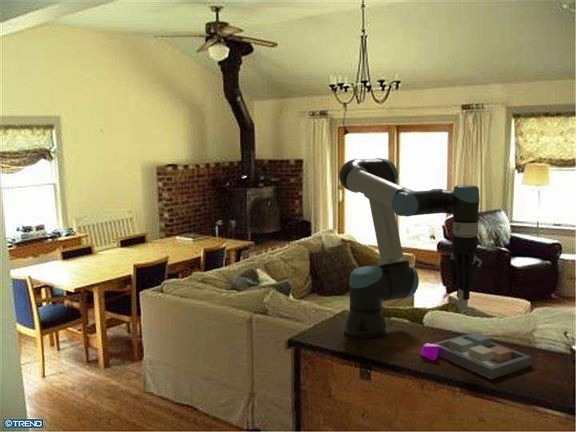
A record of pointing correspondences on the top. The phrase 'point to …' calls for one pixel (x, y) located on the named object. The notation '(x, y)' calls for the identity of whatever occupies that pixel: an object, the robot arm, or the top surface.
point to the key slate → (479, 340)
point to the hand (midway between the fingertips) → (462, 308)
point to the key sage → (460, 345)
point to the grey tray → (485, 368)
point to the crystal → (430, 351)
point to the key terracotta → (501, 354)
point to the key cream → (481, 353)
